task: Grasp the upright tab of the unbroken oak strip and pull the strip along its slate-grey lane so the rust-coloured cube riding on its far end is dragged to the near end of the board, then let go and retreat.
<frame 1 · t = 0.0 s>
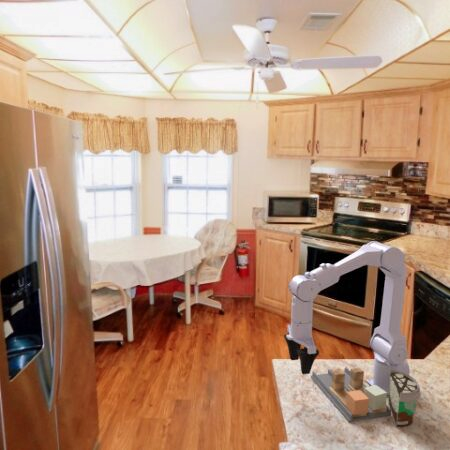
hand: (299, 366, 106), 10 cm above the countertop, tool pointing down, fingers open, 7 cm apart
lane board: (347, 394, 110), on the countertop
sage block: (374, 403, 103), point 2 cm above the countertop, touching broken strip
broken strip: (365, 402, 107), resting on lane board
oak strip: (347, 392, 105), point 4 cm above the countertop, slide at 0.0 cm, touching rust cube
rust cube: (356, 409, 101), point 2 cm above the countertop, touching oak strip
food container: (404, 417, 101), on the countertop
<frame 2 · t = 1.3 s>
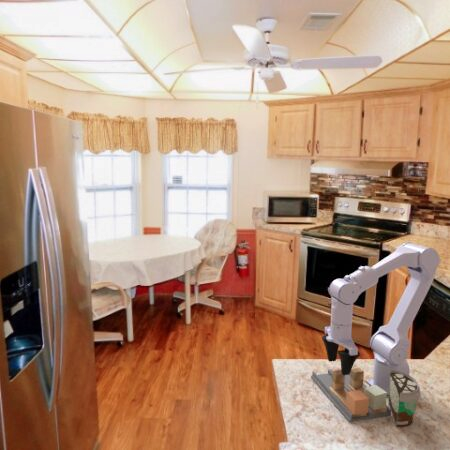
hand: (338, 367, 109), 8 cm above the countertop, tool pointing down, fingers open, 7 cm apart
nothing on the countertop moved.
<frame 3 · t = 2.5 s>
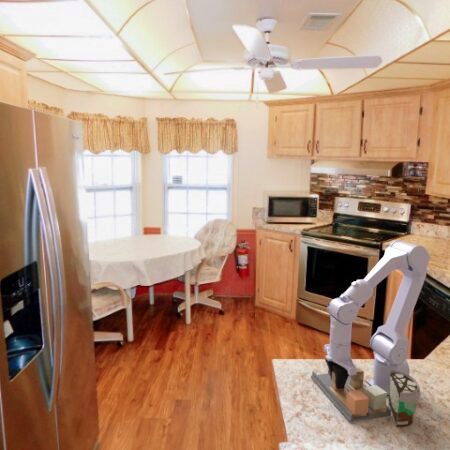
hand: (337, 385, 110), 3 cm above the countertop, tool pointing down, fingers closed on oak strip, 2 cm apart
oak strip: (347, 392, 105), point 4 cm above the countertop, slide at 0.0 cm, touching gripper, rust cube
everything else where it was.
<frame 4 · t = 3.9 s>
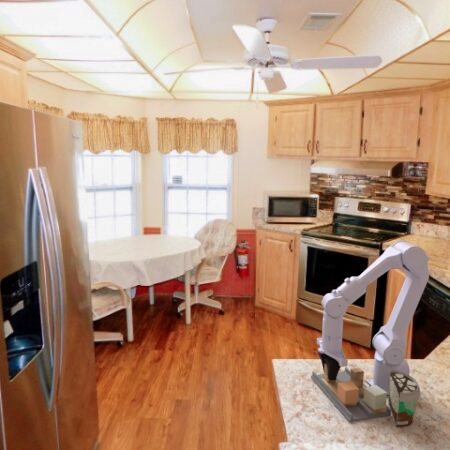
hand: (329, 377, 114), 3 cm above the countertop, tool pointing down, fingers closed on oak strip, 2 cm apart
oak strip: (338, 383, 110), point 4 cm above the countertop, slide at 4.6 cm, touching gripper, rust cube
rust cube: (347, 399, 105), point 2 cm above the countertop, touching oak strip
everything else where it was.
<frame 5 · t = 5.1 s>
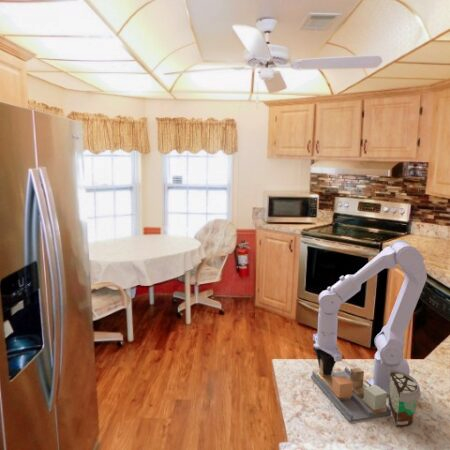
hand: (325, 372, 117), 3 cm above the countertop, tool pointing down, fingers closed on oak strip, 2 cm apart
oak strip: (333, 377, 112), point 4 cm above the countertop, slide at 7.5 cm, touching gripper, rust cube
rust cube: (341, 393, 108), point 2 cm above the countertop, touching oak strip
everything else where it was.
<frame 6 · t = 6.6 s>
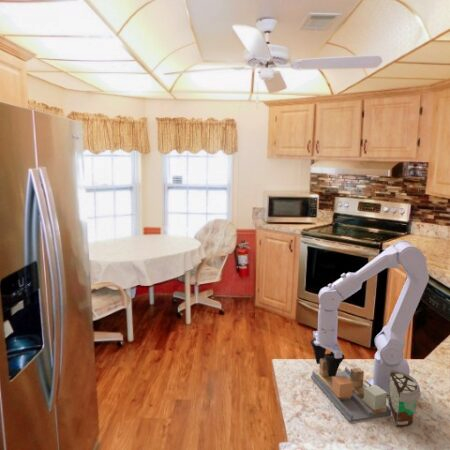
hand: (325, 369, 117), 4 cm above the countertop, tool pointing down, fingers open, 7 cm apart
oak strip: (333, 377, 112), point 4 cm above the countertop, slide at 7.5 cm, touching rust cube
everything else where it was.
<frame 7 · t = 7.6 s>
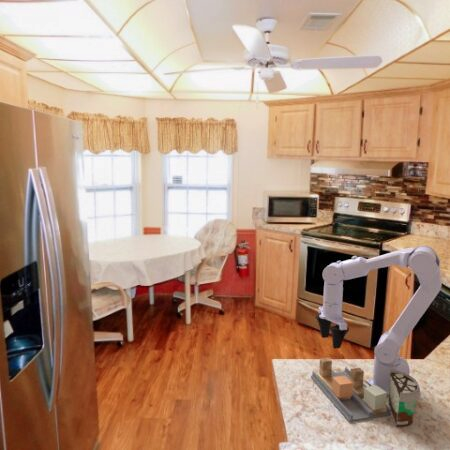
hand: (330, 342, 122), 10 cm above the countertop, tool pointing down, fingers open, 7 cm apart
nothing on the countertop moved.
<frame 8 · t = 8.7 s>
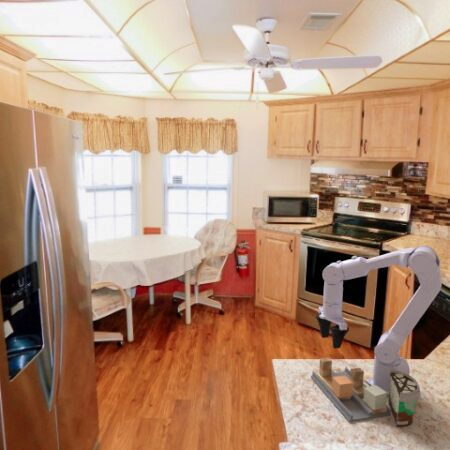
hand: (330, 342, 122), 10 cm above the countertop, tool pointing down, fingers open, 7 cm apart
nothing on the countertop moved.
at the end: oak strip slide at 7.5 cm; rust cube inside the target area (1.5 cm from its centre), point 1.9 cm above the countertop; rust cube tilted 0° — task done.
